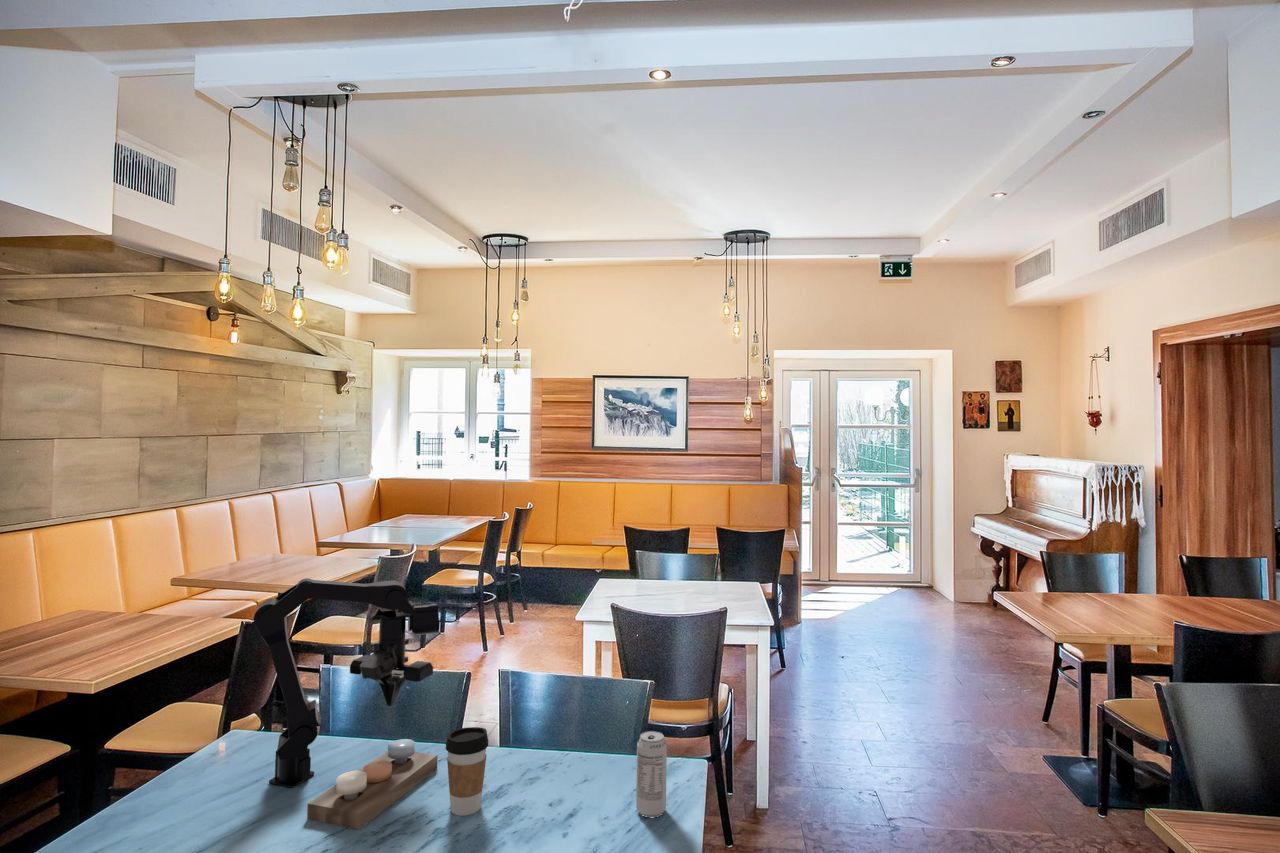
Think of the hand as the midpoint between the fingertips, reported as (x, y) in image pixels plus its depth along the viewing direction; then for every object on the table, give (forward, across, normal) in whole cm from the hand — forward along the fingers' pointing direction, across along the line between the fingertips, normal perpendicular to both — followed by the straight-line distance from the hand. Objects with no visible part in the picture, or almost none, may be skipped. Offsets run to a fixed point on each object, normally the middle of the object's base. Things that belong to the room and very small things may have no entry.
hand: (390, 705), depth 156 cm
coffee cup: (+13, +27, -12) cm, 32 cm away
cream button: (+11, +6, -20) cm, 24 cm away
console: (+13, +6, -12) cm, 19 cm away
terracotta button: (+13, +6, -12) cm, 19 cm away
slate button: (+11, +6, -4) cm, 13 cm away
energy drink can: (+13, +63, -2) cm, 64 cm away
